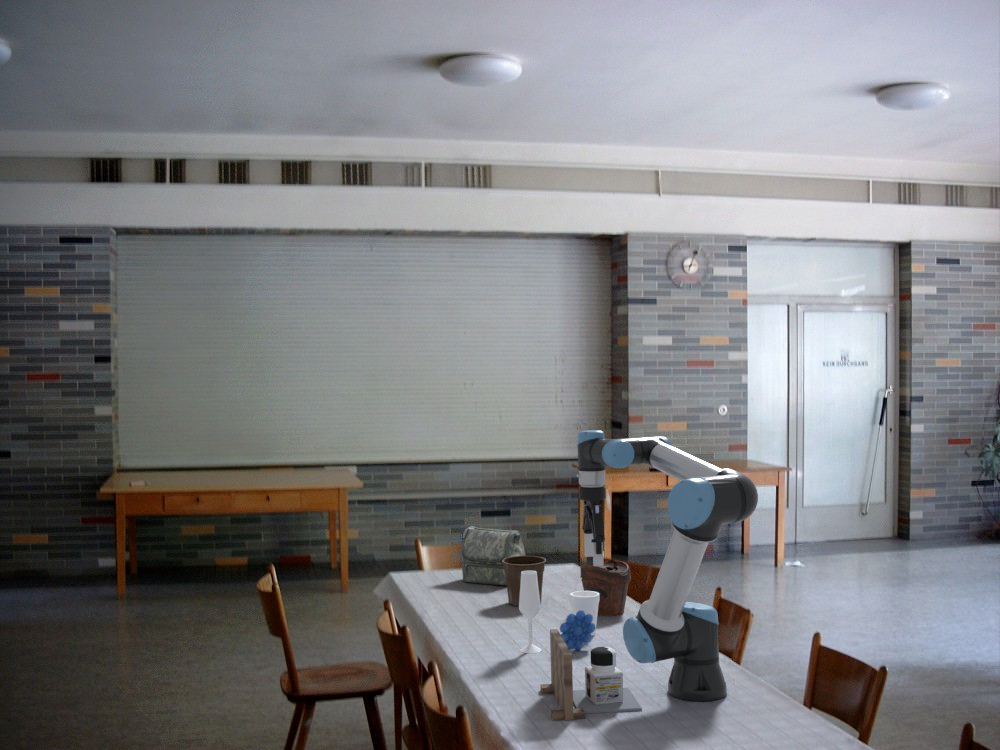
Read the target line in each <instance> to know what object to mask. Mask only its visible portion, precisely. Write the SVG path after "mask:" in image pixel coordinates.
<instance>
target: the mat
mask: <svg viewBox="0 0 1000 750" xmlns="http://www.w3.org/2000/svg"><path fill="white" fill-rule="evenodd" d="M573 706H575V709H578V708H583V709H584V711H585V714H599V713H601V714H602V713H616V712H618V713H619V712H635V711H636V712H637V711H638V712H639V711H643V707H642V706H641V705H640V703H639V701H638V700H637V698H636V697H635V696H634V694H633V693H632V691H631V690H630V689H629V687H623V702H619V703H609V704H600V705H595V704H594V703H593V702H592V701H591V700H590V699H589V698H588V697H587V696H586V690H585V689H577V690H576V689H573Z"/></svg>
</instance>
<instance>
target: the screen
mask: <svg viewBox="0 0 1000 750" xmlns="http://www.w3.org/2000/svg"><path fill="white" fill-rule="evenodd" d="M561 634H562V633H561V632H560V630H558V628H553V629H552V628H551V629H549V638H550V641H549V643H550V646H549V647H550V677H551V678H550V679H551V680H550V681H551V682H550V683H545V684H544V683H543V684H540V685H539V686H540V692H541V694H553V695H554V699H555V700H556V702H557V704H558V706H559V709H550V717H551V719H552V721H564V720H565V721H574V720H583V719H586V713H585V711H584V709H583V708H578V709H576V708H574V703H573V690H574V687H573V683H574V682H573V681H574V680H573V678H574V677H573V654H572V652H571V650H569V648H568V647H567V645H566V643H565V641H564V640H563V638H562V636H561Z"/></svg>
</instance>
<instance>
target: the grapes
mask: <svg viewBox="0 0 1000 750" xmlns="http://www.w3.org/2000/svg"><path fill="white" fill-rule="evenodd" d="M592 620H593V617H592V615H591V614H587V615H585V612H584V611H578V612H577V613H576V616H575V615H574V614H573V613H569V614H568V615H566V618H565V621H566V622H563V623H562V624H560V626H559V632H560V634H561V636H562V638H563V640H564V641H565V643H566V645H567V647H568V648H569V650H570V651H571V650H572V649H573V648H574V649H575V651H580V650H581V649H583V647H584V644H589V643H591V641H592V639H593V638H592V637H593V636H591V634H590V633H593V632H594V631H595V628H596V629H597V626H596V627H595V624H594V623H591V622H592Z"/></svg>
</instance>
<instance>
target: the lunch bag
mask: <svg viewBox="0 0 1000 750" xmlns="http://www.w3.org/2000/svg"><path fill="white" fill-rule="evenodd" d="M523 542H524V541H523V539H522V535H521V533H520V531H519V530H516V529H515V530H508V529H506V530H505V529H496V528H482V527H476V526H473V525H471V526H469V527H467V528H465V529H464V530H463V532H462V533H460V536H459V541H458V543H461V555H460V556H461V557H460V560H461V569H462V571H461V572H462V581H463V582H465V583H474V584H482V585H492V586H493V585H495V586H506V587H507V582H506V573H505V571H504V563H503V562H502V560H503V559H505V558H508V557H513V556H527V555H526V552H525V546H524V543H523Z"/></svg>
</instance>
